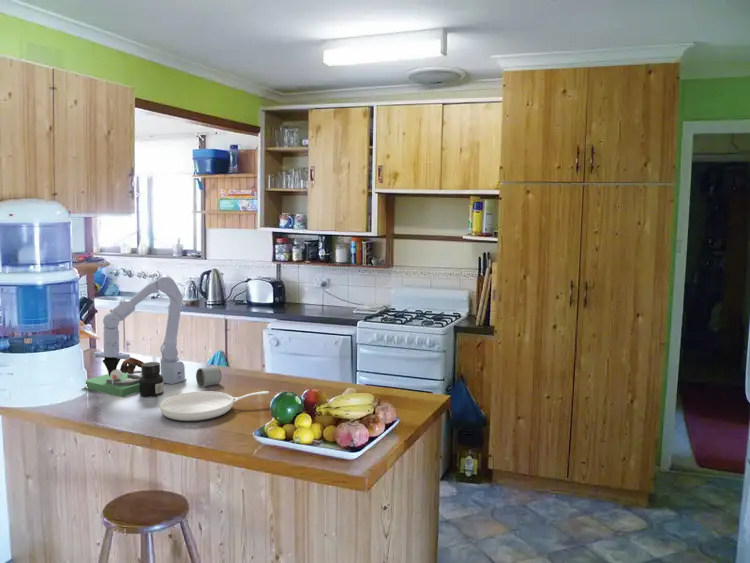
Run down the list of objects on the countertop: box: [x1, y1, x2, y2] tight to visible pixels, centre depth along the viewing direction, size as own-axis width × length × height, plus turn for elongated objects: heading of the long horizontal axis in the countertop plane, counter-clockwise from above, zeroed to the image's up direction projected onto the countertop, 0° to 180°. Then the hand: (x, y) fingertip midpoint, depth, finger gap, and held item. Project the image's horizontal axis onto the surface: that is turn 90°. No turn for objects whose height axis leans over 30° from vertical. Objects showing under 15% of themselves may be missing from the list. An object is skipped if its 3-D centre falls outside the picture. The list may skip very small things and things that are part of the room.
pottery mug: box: [119, 356, 145, 375], centre depth 268 cm, size 12×10×8 cm
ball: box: [110, 368, 122, 380], centre depth 247 cm, size 4×4×4 cm
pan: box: [159, 390, 270, 422], centre depth 219 cm, size 25×38×5 cm, turn 111°
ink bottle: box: [139, 361, 165, 398], centre depth 237 cm, size 10×9×12 cm
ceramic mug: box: [195, 366, 223, 388], centre depth 251 cm, size 11×8×8 cm
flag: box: [111, 374, 117, 387], centre depth 237 cm, size 3×1×8 cm, turn 60°
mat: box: [85, 373, 142, 398], centre depth 247 cm, size 24×16×4 cm, turn 60°
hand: (111, 375), depth 248 cm, fingers closed
